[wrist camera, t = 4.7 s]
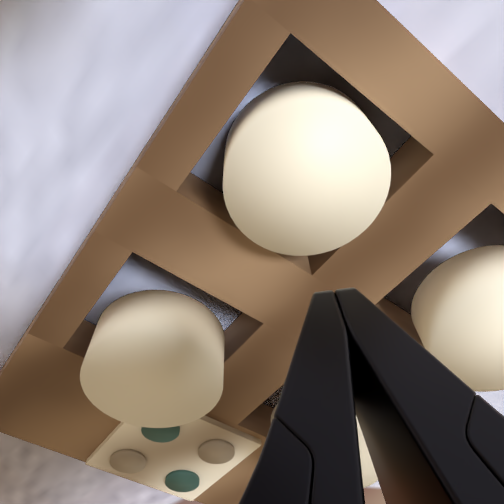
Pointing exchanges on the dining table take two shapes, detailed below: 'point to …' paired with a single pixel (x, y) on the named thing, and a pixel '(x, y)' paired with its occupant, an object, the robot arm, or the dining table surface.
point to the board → (252, 244)
